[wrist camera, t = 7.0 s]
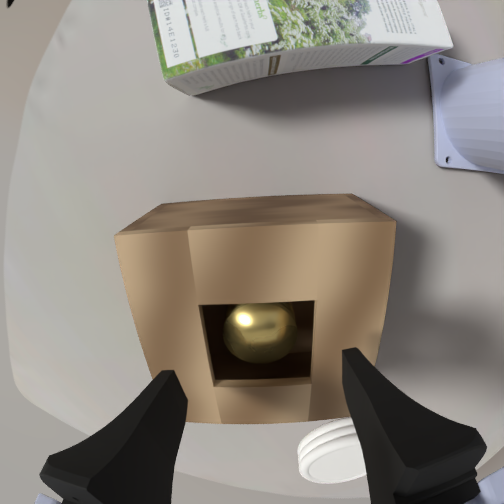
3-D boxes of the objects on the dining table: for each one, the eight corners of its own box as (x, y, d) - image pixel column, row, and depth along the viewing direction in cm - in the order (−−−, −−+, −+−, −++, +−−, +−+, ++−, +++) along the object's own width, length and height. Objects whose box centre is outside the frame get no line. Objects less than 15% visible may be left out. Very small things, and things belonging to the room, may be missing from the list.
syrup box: (189, 98, 16) (410, 66, 15) (159, 83, 11) (460, 49, 9) (171, 22, 14) (386, -5, 13) (139, -15, 9) (424, -40, 7)
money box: (351, 193, 18) (396, 221, 11) (341, 349, 22) (361, 414, 16) (161, 203, 18) (114, 235, 12) (188, 355, 23) (168, 420, 16)
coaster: (336, 468, 29) (340, 490, 26) (278, 448, 27) (278, 474, 24) (401, 427, 26) (409, 450, 23) (348, 402, 25) (356, 430, 21)
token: (299, 279, 19) (311, 321, 15) (272, 323, 21) (275, 371, 16) (246, 254, 19) (241, 291, 14) (222, 302, 20) (211, 347, 15)
